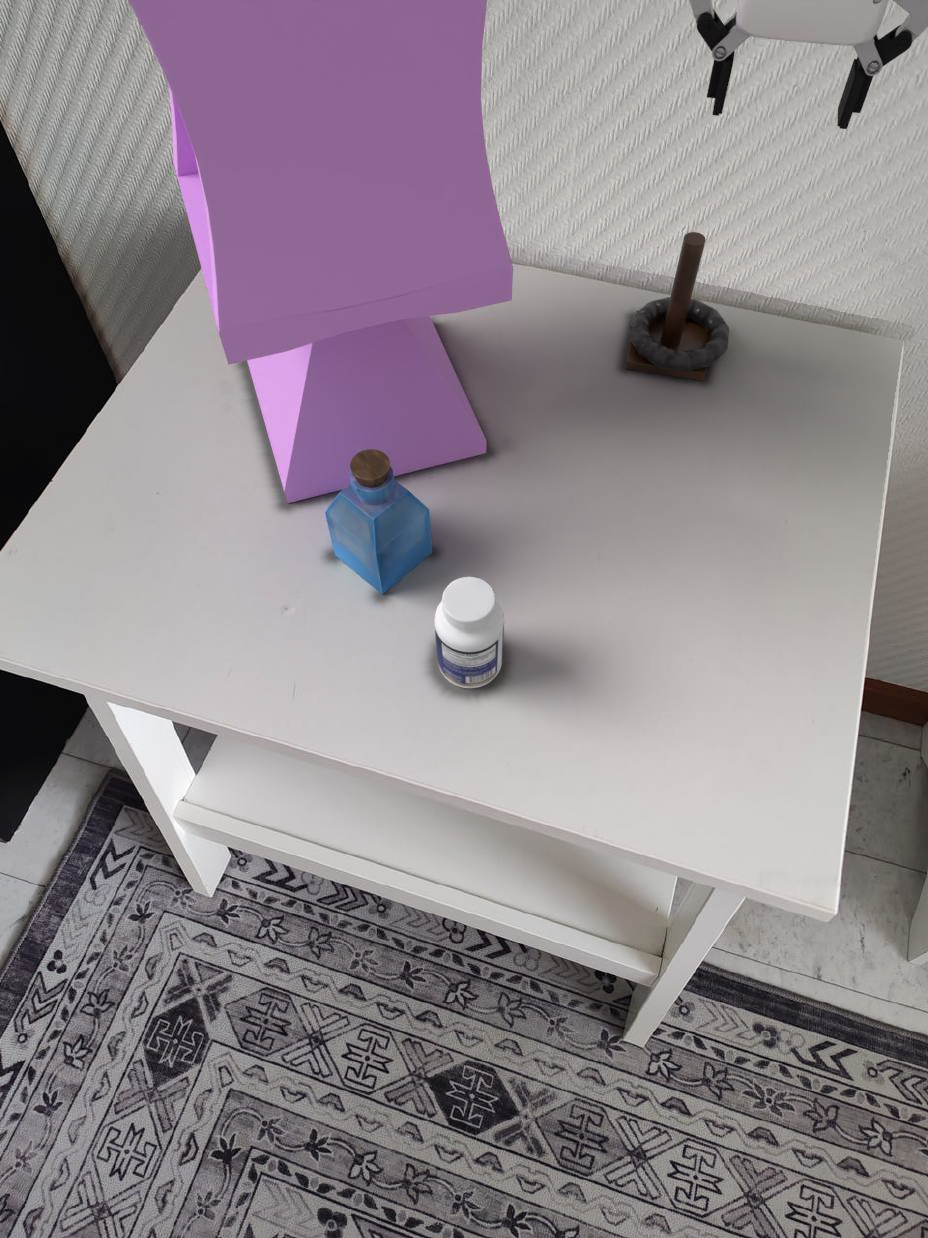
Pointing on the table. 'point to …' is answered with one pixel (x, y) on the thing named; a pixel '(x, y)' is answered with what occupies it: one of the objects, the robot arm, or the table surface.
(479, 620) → the pill bottle
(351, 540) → the perfume bottle
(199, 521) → the table surface
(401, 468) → the purple table lamp
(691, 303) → the ring
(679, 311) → the stand
